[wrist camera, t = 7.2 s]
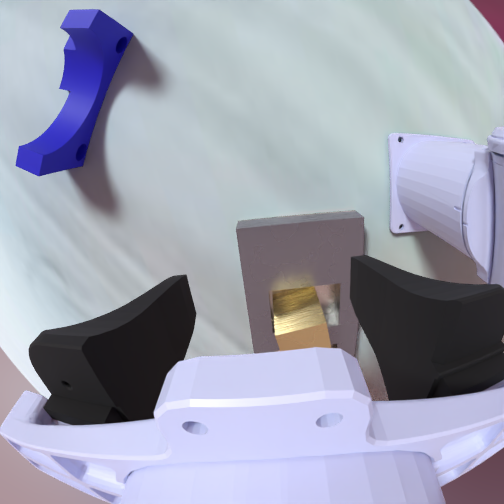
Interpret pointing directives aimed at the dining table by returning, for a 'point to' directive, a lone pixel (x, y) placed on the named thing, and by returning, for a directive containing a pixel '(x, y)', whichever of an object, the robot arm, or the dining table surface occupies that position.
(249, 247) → the gray rectangular plate
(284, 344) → the wooden toy block
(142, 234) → the dining table surface
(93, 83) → the cable clip
